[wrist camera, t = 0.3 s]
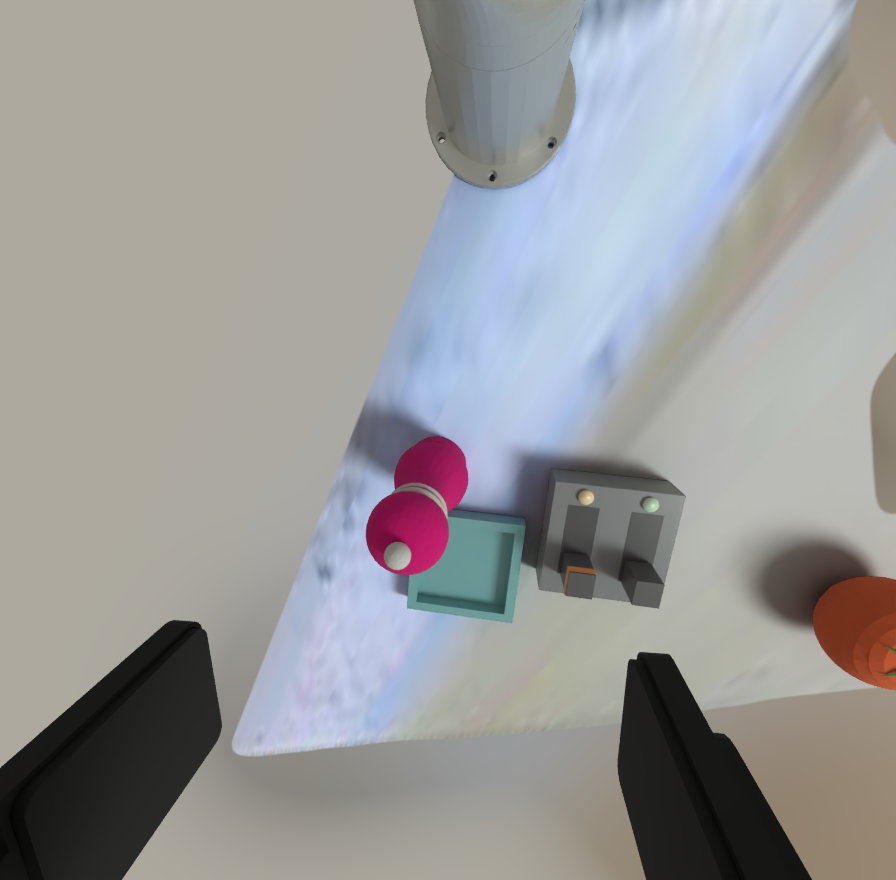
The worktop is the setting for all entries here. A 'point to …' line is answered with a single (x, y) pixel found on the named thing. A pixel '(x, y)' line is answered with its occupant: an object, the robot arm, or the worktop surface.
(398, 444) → the worktop surface
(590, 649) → the worktop surface
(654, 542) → the breaker panel
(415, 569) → the pepper mill
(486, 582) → the tray
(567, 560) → the tagged breaker
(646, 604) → the block
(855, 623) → the tomato
